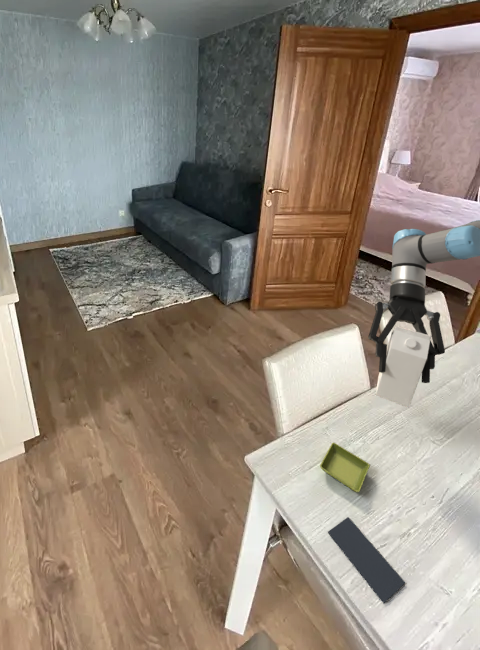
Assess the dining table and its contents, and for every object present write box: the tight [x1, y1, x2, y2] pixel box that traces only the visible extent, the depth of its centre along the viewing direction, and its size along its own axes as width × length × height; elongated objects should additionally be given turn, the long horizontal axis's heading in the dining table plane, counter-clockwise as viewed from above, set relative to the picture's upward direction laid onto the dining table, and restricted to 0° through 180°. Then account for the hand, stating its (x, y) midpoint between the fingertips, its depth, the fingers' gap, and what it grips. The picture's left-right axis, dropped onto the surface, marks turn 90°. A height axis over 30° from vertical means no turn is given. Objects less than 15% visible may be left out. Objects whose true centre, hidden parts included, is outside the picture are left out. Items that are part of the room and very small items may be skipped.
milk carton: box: [375, 325, 432, 409], centre depth 84 cm, size 7×7×19 cm
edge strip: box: [327, 516, 406, 604], centre depth 66 cm, size 12×6×1 cm, turn 27°
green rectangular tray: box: [319, 442, 371, 493], centre depth 81 cm, size 9×9×2 cm
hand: (403, 377), depth 81 cm, fingers closed on milk carton, 8 cm apart
